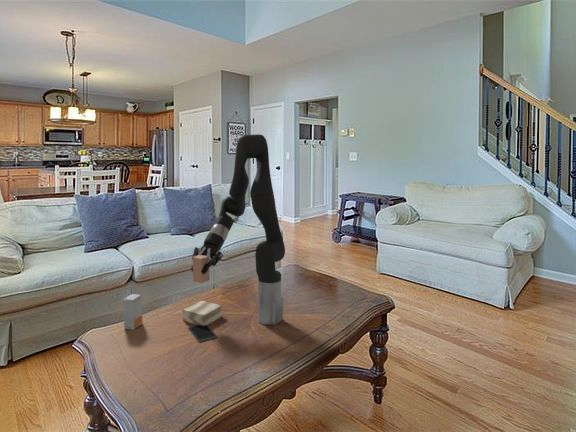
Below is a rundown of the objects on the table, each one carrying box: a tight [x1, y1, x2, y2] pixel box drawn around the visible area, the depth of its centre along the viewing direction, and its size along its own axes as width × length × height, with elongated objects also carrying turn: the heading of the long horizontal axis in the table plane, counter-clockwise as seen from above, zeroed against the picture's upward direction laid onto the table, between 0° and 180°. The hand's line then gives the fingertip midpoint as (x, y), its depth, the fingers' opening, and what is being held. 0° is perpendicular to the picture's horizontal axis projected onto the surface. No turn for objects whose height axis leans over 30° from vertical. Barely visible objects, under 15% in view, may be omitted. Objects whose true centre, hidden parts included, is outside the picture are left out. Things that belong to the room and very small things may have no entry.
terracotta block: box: [192, 255, 210, 284], centre depth 152 cm, size 4×4×10 cm
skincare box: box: [122, 293, 143, 331], centre depth 146 cm, size 6×4×12 cm
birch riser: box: [182, 300, 223, 326], centre depth 154 cm, size 11×11×5 cm
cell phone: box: [187, 324, 218, 343], centre depth 142 cm, size 7×14×1 cm, turn 32°
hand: (197, 272), depth 150 cm, fingers closed on terracotta block, 4 cm apart
